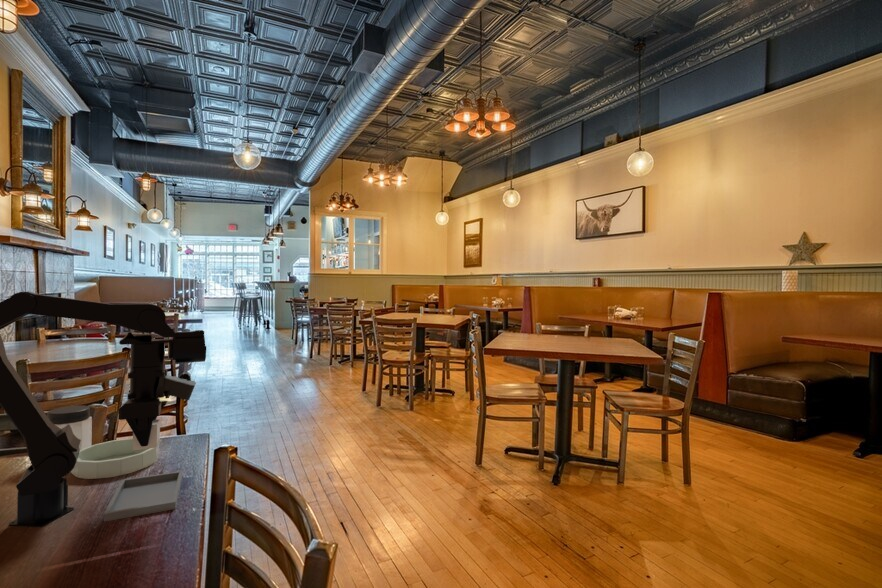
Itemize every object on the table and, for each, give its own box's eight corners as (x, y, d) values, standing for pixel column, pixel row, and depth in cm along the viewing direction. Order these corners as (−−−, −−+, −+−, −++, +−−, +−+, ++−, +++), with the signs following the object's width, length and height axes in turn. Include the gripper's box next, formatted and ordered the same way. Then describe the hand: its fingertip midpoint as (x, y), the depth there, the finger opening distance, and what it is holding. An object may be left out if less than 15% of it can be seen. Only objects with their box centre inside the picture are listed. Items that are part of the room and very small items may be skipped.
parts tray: (175, 510, 83) (175, 501, 83) (103, 523, 78) (103, 514, 78) (182, 478, 97) (182, 470, 97) (122, 487, 92) (122, 479, 92)
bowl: (122, 481, 95) (122, 463, 95) (53, 478, 96) (53, 460, 96) (171, 454, 111) (172, 439, 111) (112, 452, 112) (112, 437, 112)
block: (156, 447, 87) (157, 424, 87) (132, 450, 86) (133, 426, 86) (159, 441, 91) (160, 419, 91) (136, 444, 89) (136, 421, 89)
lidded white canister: (44, 467, 102) (45, 416, 102) (43, 457, 108) (44, 409, 108) (93, 457, 109) (93, 409, 109) (89, 449, 115) (90, 403, 115)
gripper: (189, 370, 83) (188, 452, 83) (196, 357, 100) (195, 425, 100) (118, 374, 79) (117, 461, 78) (138, 359, 95) (136, 431, 95)
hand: (146, 442), depth 88 cm, fingers closed on block, 4 cm apart
